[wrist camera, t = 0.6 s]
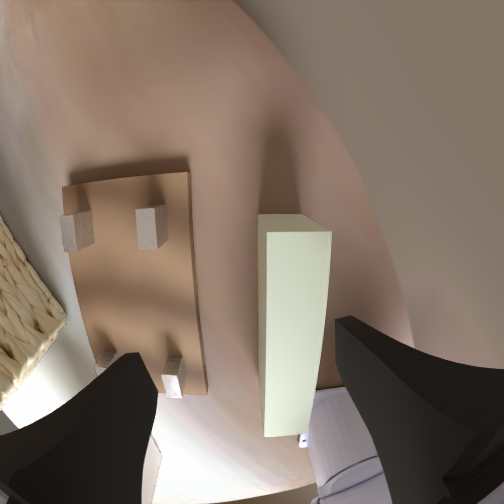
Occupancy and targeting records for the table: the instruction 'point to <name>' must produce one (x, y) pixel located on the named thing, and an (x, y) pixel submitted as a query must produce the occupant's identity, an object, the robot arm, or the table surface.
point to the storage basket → (23, 316)
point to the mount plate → (140, 275)
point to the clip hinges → (149, 237)
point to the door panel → (290, 318)
